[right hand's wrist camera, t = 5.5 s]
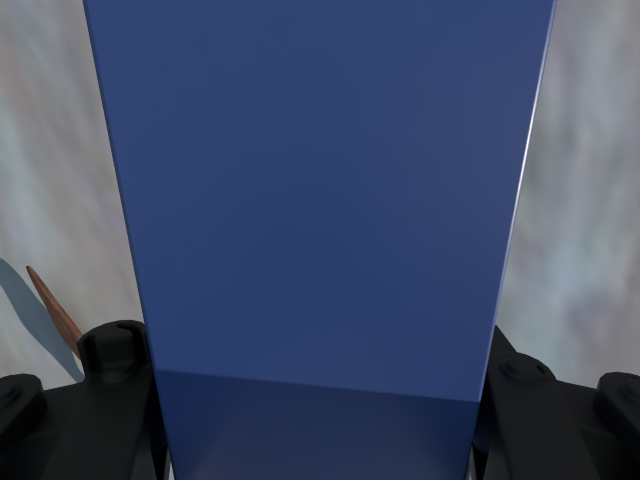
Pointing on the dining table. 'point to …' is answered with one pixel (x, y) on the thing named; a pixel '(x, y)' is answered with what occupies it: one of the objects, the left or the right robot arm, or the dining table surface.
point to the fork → (57, 313)
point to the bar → (319, 220)
